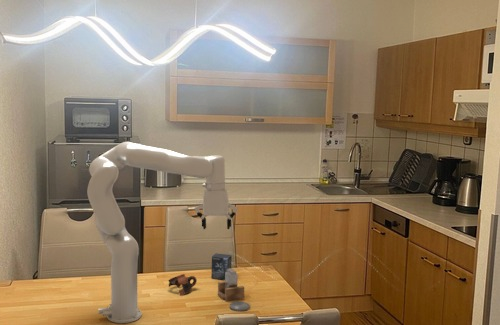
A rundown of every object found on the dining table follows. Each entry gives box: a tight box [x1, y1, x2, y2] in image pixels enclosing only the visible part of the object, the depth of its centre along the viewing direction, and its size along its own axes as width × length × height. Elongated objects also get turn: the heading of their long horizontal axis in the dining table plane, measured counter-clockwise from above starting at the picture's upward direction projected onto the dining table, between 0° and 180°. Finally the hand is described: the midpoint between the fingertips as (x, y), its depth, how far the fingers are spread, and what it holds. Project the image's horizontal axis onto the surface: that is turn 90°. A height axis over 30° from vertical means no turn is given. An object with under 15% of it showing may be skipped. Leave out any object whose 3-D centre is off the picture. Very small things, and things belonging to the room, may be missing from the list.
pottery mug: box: [167, 273, 198, 296], centre depth 224 cm, size 12×10×8 cm
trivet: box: [229, 300, 251, 312], centre depth 208 cm, size 8×8×1 cm
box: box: [211, 252, 233, 281], centre depth 240 cm, size 8×6×11 cm
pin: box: [224, 267, 239, 288], centre depth 219 cm, size 4×5×11 cm
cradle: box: [217, 280, 245, 302], centre depth 219 cm, size 9×9×5 cm
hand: (216, 228), depth 211 cm, fingers open, 9 cm apart
